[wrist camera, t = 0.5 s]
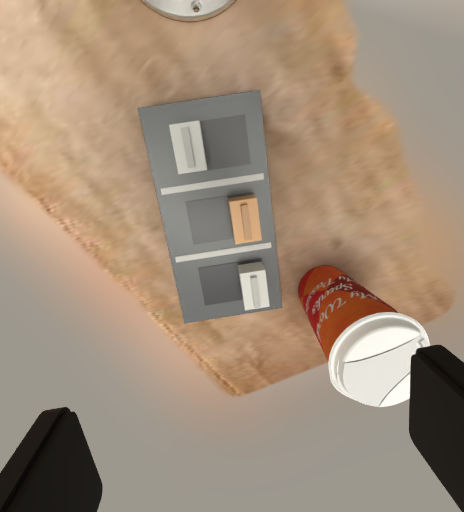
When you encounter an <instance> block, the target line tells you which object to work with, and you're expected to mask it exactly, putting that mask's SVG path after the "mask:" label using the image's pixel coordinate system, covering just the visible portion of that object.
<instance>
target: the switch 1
mask: <svg viewBox="0 0 464 512" xmlns="http://www.w3.org/2000/svg"><path fill="white" fill-rule="evenodd" d="M169 128H170V133H171V138H172V144H173V149H174V154H175V159H176V164H177V170H178V174H185V173H191V172H198V171H205V170H207V163H206V157H205V151H204V145H203V138H202V132H201V126H200V122H199V120H198V121H191V122H185V123H178V124H171V125H169Z"/></svg>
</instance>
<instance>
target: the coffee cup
mask: <svg viewBox="0 0 464 512" xmlns="http://www.w3.org/2000/svg"><path fill="white" fill-rule="evenodd" d="M298 293H299V298H300V301H301V303H302V306H303V308H304V310H305V312H306V315H307V317H308V319H309V321H310V323H311V326H312V328H313V330H314V332H315V334H316V336H317V339H318V341H319V343H320V345H321V347H322V349H323V352H324V354H325V356H326V358H327V360H328V367H329V372H330V380H331V382H332V384H333V385H334V387H335V388H336V389H337V390H338V391H339V392H341V393H342V394H343V395H346V396H348V397H349V398H351V399H354V400H357V401H358V402H361V403H363V404H366V405H371V406H376V407H385V406H391V405H395V404H398V403H400V402H403V401H405V400H407V399H409V398H410V365H411V356H412V355H414V354H415V353H416V350H417V349H418V348H421V347H427V346H430V343H429V339H428V336H427V334H426V332H425V330H424V328H423V327H422V326H421V325H420V324H419V323H418V322H417V321H416V320H415V319H413V318H411V317H409V316H407V315H404V314H401V313H398V312H397V311H396V310H395V309H393V308H392V307H391V306H389V305H388V304H386V303H385V302H384V301H382V300H381V299H379V298H378V297H376V296H375V295H374V294H372V293H371V292H369V291H368V290H366V289H365V288H364V287H362V286H361V285H360V284H358V283H357V282H355V281H354V280H353V279H351V278H350V277H348V276H347V275H346V274H344V273H343V272H341V271H340V270H338V269H336V268H334V267H331V266H319V267H316V268H314V269H312V270H310V271H309V272H307V273H306V274H305V275H304V277H303V278H302V279H301V281H300V284H299V289H298Z"/></svg>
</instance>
